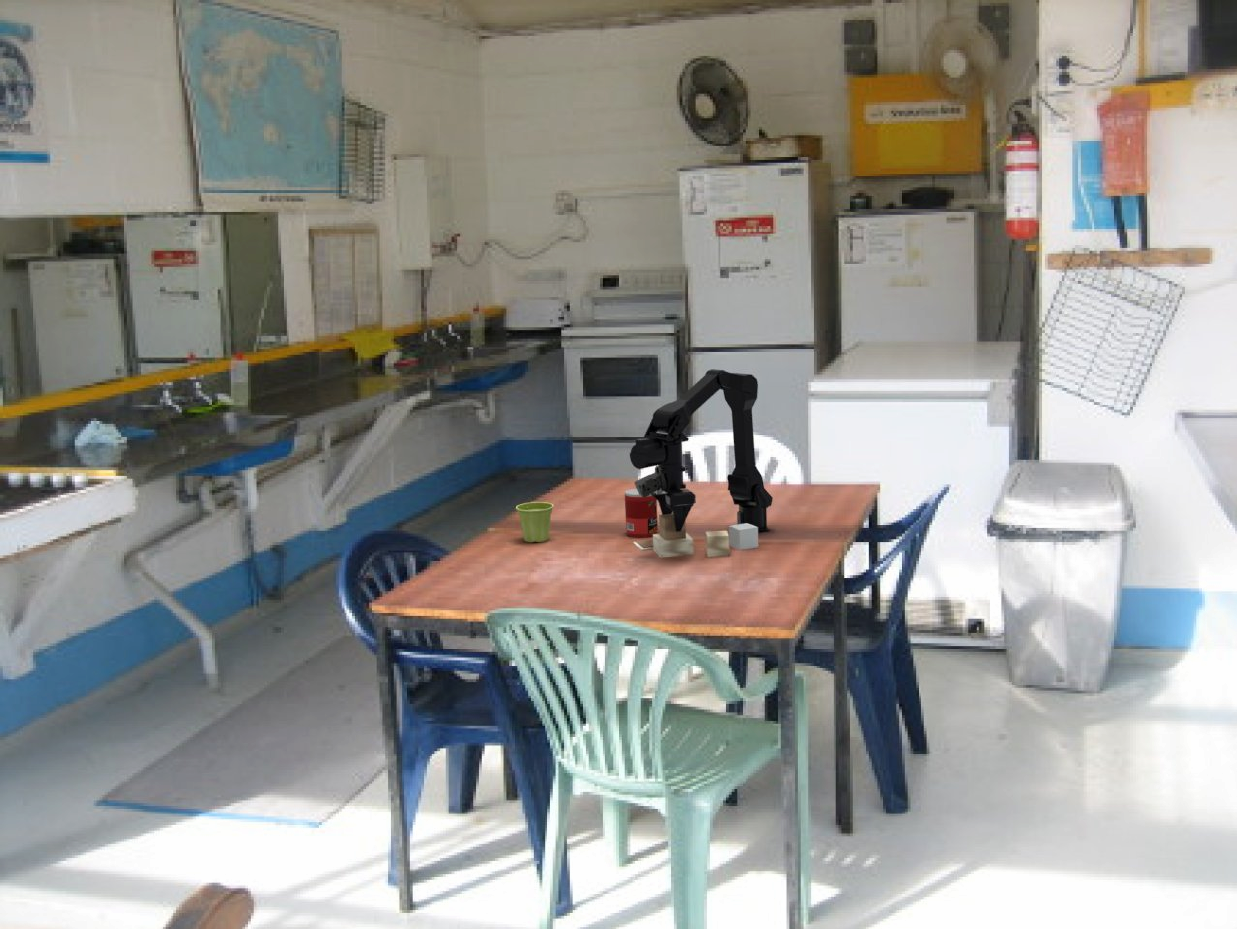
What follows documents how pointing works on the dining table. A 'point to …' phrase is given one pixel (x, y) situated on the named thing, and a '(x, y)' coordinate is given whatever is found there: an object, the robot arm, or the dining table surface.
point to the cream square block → (672, 546)
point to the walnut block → (670, 528)
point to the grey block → (743, 536)
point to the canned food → (640, 514)
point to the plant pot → (535, 520)
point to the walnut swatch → (644, 544)
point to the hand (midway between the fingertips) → (672, 527)
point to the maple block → (717, 543)
